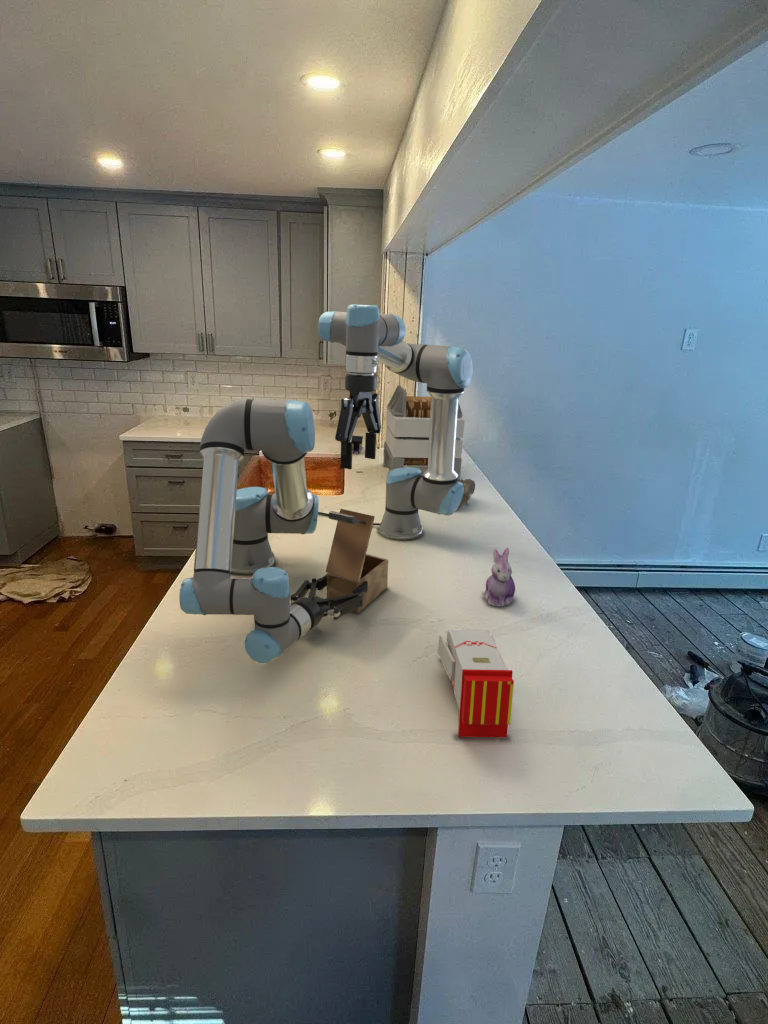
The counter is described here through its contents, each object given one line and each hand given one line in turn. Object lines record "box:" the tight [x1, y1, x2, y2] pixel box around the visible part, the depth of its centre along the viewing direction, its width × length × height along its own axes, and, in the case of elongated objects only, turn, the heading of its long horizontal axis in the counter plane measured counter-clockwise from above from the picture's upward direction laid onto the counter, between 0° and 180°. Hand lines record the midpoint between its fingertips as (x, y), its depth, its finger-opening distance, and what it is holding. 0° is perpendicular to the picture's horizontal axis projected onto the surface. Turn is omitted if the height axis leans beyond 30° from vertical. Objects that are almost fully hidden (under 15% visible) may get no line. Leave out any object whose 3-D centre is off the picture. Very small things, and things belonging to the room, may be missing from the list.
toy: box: [437, 628, 515, 738], centre depth 117 cm, size 12×13×30 cm
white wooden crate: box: [383, 384, 465, 480], centre depth 268 cm, size 34×33×41 cm
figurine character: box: [350, 434, 364, 454], centre depth 309 cm, size 7×8×15 cm
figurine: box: [484, 547, 516, 607], centre depth 155 cm, size 9×10×15 cm
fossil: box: [457, 478, 476, 510], centre depth 232 cm, size 22×10×15 cm
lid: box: [325, 508, 376, 581], centre depth 143 cm, size 17×10×9 cm
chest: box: [326, 553, 389, 614], centre depth 154 cm, size 16×10×9 cm, turn 152°
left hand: (348, 581), depth 150 cm, fingers closed on chest, 10 cm apart
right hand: (358, 463), depth 142 cm, fingers open, 11 cm apart
